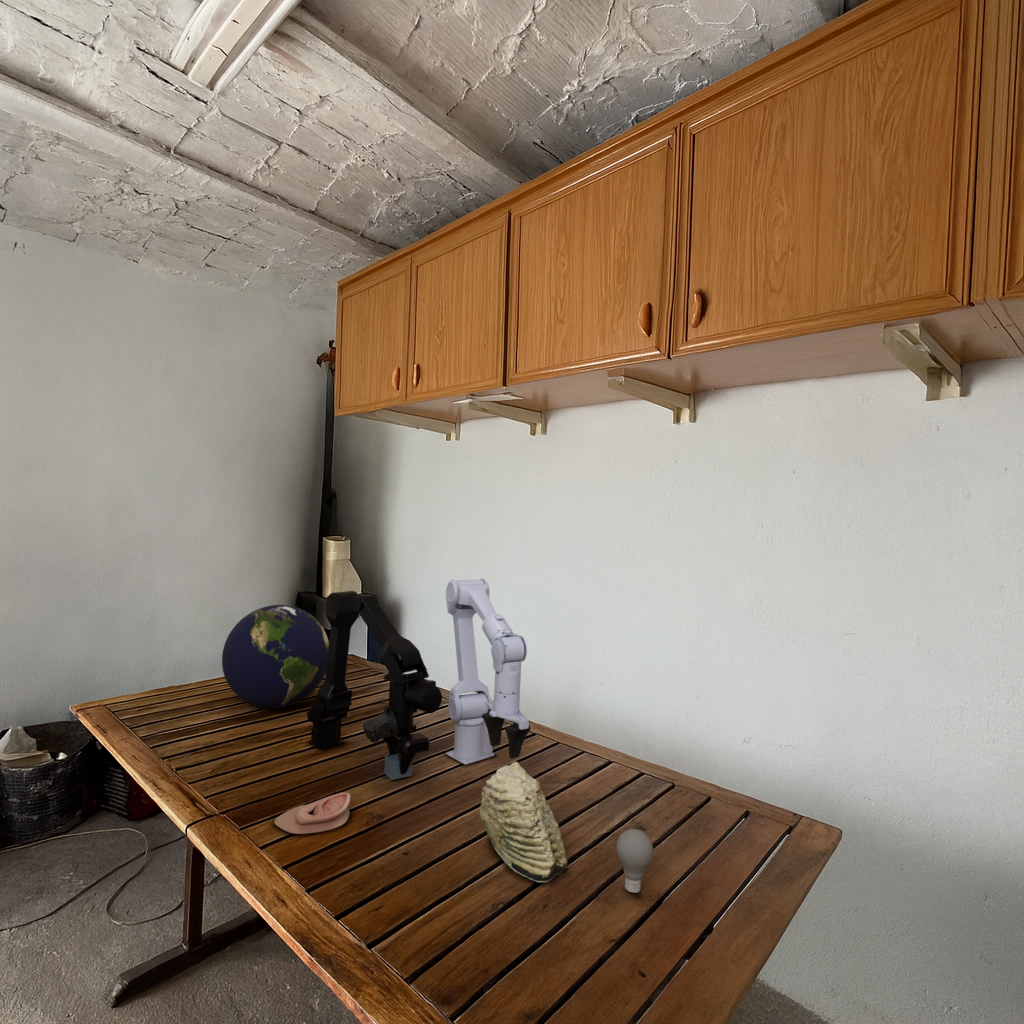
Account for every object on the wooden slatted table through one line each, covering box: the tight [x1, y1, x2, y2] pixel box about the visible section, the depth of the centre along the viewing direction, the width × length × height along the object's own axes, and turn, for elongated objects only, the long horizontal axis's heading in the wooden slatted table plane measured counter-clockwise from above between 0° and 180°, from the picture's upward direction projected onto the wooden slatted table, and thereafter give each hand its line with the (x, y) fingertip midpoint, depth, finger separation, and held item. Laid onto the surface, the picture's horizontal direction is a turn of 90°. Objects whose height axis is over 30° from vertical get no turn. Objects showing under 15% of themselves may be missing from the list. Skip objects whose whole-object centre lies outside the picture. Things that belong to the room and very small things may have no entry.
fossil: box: [479, 761, 569, 883], centre depth 114 cm, size 9×18×15 cm, turn 46°
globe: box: [221, 604, 329, 709], centre depth 188 cm, size 30×30×30 cm
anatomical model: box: [274, 791, 351, 835], centre depth 124 cm, size 13×4×12 cm
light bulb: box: [615, 828, 654, 894], centre depth 106 cm, size 6×6×10 cm
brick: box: [384, 754, 414, 781], centre depth 144 cm, size 4×5×4 cm
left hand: (398, 770), depth 144 cm, fingers closed on brick, 4 cm apart
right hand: (504, 751), depth 141 cm, fingers open, 7 cm apart
